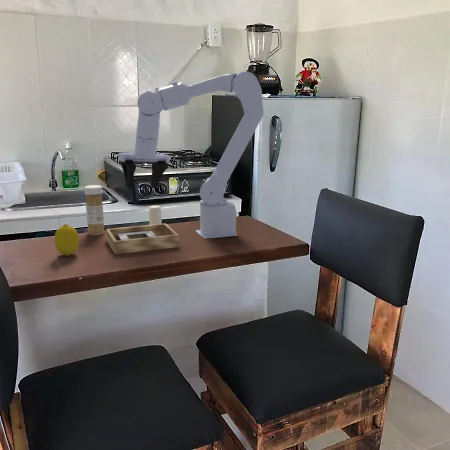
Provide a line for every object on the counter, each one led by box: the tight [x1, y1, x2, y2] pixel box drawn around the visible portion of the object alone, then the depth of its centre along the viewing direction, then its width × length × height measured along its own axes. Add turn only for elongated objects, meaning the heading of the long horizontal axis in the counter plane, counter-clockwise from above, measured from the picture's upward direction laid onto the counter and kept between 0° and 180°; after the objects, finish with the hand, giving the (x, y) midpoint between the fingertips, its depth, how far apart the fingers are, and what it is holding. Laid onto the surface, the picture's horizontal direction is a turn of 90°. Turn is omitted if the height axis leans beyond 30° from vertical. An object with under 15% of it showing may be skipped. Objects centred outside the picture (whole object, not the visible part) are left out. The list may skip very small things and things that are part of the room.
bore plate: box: [117, 230, 157, 241], centre depth 129 cm, size 9×9×2 cm
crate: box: [105, 223, 180, 255], centre depth 129 cm, size 16×12×4 cm
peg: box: [148, 205, 163, 225], centre depth 141 cm, size 3×3×7 cm
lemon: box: [54, 223, 80, 257], centre depth 119 cm, size 6×6×8 cm
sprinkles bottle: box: [84, 184, 106, 236], centre depth 137 cm, size 5×5×14 cm
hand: (141, 187), depth 137 cm, fingers open, 7 cm apart
